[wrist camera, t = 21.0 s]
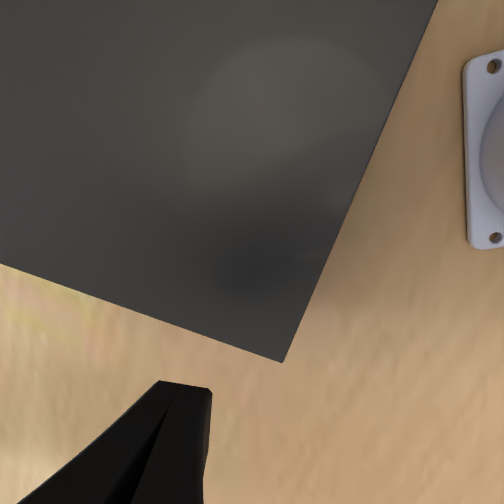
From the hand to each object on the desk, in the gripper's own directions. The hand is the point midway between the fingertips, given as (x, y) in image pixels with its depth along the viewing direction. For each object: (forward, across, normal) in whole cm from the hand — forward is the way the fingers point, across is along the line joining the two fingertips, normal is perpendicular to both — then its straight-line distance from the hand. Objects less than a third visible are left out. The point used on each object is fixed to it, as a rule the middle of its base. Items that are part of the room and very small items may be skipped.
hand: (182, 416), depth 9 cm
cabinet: (+10, +2, -7) cm, 13 cm away
